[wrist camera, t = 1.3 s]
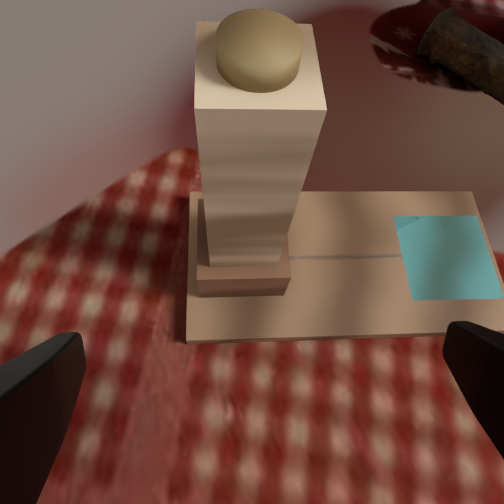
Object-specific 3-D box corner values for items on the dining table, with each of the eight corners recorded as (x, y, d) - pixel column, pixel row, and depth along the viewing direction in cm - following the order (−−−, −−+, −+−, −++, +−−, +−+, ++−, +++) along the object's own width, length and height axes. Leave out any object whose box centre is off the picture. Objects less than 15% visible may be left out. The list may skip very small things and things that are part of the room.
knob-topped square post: (283, 295, 23) (365, 106, 9) (200, 297, 22) (161, 104, 9) (277, 223, 25) (337, -16, 11) (201, 224, 24) (170, -23, 11)
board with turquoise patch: (187, 344, 22) (185, 340, 21) (191, 199, 26) (190, 191, 25) (508, 333, 24) (519, 330, 23) (463, 199, 28) (471, 191, 27)
